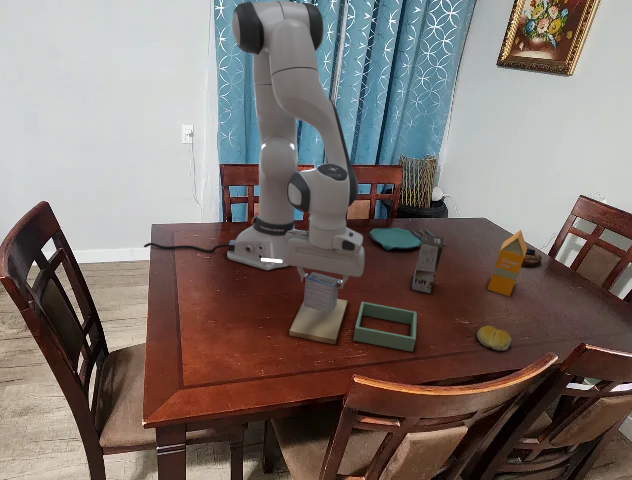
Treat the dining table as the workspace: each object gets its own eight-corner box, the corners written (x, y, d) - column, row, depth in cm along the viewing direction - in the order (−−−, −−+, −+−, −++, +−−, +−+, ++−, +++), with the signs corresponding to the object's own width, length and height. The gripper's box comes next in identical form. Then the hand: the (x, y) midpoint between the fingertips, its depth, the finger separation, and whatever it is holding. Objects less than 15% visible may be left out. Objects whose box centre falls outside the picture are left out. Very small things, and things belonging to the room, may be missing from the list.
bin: (353, 340, 114) (355, 327, 112) (359, 313, 126) (361, 301, 123) (412, 351, 113) (415, 339, 111) (413, 323, 125) (416, 311, 122)
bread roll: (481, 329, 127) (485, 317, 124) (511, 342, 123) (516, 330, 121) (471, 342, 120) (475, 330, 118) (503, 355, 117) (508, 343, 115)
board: (289, 335, 112) (289, 330, 112) (306, 297, 129) (307, 293, 128) (335, 344, 112) (335, 339, 111) (346, 304, 128) (347, 300, 128)
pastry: (524, 253, 180) (529, 240, 177) (543, 267, 171) (549, 253, 168) (502, 254, 177) (507, 240, 173) (520, 268, 167) (526, 254, 164)
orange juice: (513, 286, 153) (533, 232, 142) (509, 296, 146) (530, 240, 135) (490, 279, 155) (509, 226, 145) (486, 289, 148) (505, 234, 138)
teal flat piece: (361, 232, 177) (362, 227, 175) (424, 230, 188) (425, 225, 187) (383, 254, 162) (384, 248, 160) (450, 250, 173) (452, 244, 172)
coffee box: (431, 294, 141) (443, 247, 132) (411, 289, 141) (422, 243, 133) (432, 281, 148) (443, 236, 140) (413, 277, 149) (423, 232, 140)
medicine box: (336, 306, 119) (340, 279, 114) (330, 314, 115) (333, 286, 111) (309, 298, 121) (312, 271, 116) (303, 306, 117) (305, 278, 112)
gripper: (281, 232, 105) (280, 283, 113) (366, 247, 103) (358, 297, 111) (289, 223, 110) (287, 272, 118) (369, 236, 109) (362, 285, 116)
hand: (322, 284), depth 114 cm, fingers closed on medicine box, 8 cm apart
